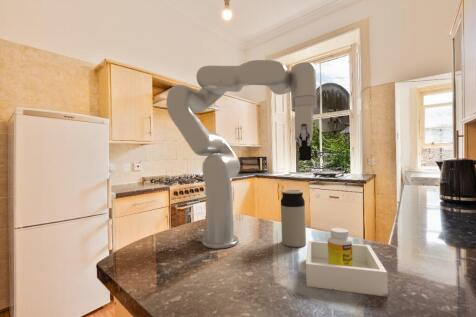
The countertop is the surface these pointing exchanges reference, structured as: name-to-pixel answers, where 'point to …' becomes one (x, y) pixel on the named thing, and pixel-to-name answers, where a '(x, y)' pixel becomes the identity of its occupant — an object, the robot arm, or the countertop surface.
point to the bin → (346, 270)
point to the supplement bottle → (339, 248)
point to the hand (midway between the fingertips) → (305, 160)
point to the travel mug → (293, 218)
